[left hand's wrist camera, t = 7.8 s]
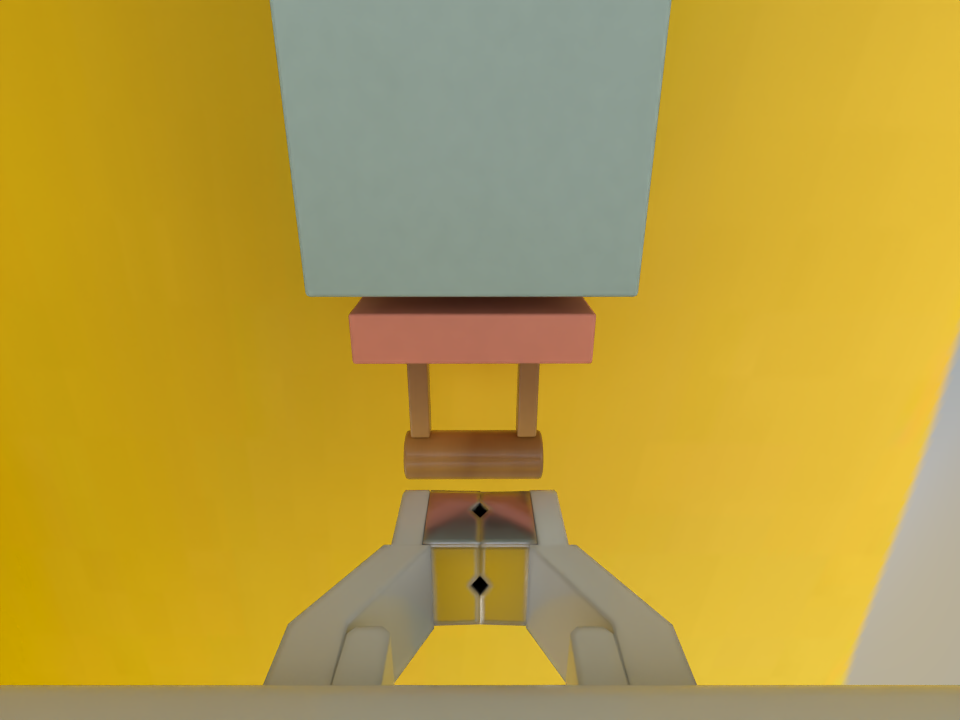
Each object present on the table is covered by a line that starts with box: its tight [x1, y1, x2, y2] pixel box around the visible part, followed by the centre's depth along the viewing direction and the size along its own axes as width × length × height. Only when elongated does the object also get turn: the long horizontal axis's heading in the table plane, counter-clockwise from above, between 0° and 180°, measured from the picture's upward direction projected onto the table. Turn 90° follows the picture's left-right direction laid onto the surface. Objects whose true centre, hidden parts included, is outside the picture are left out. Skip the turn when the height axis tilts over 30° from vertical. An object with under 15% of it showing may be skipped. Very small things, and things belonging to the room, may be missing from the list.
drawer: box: [349, 297, 596, 479], centre depth 13 cm, size 26×6×8 cm, turn 0°
